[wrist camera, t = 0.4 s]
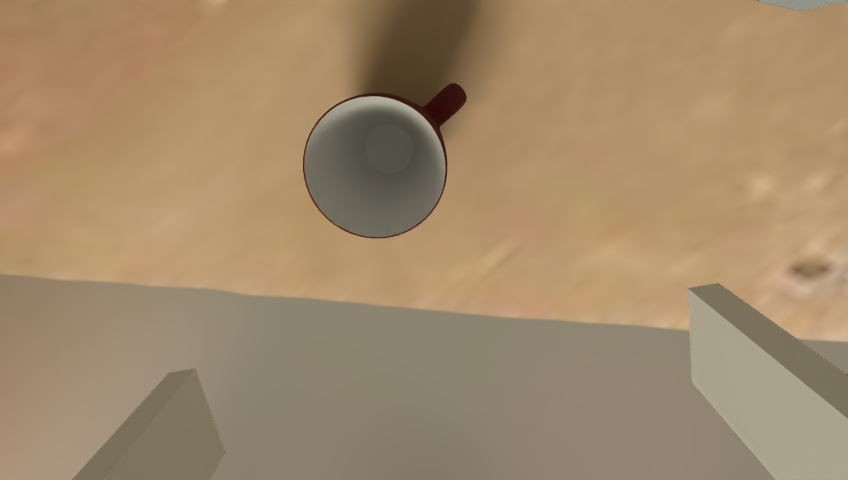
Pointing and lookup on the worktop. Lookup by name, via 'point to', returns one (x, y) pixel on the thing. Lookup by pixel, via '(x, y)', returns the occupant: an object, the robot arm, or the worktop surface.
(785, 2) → the slate notched block
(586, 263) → the worktop surface
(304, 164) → the mug
